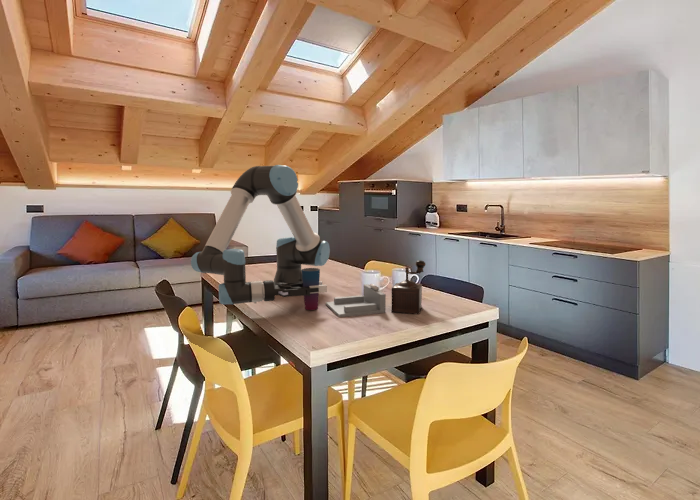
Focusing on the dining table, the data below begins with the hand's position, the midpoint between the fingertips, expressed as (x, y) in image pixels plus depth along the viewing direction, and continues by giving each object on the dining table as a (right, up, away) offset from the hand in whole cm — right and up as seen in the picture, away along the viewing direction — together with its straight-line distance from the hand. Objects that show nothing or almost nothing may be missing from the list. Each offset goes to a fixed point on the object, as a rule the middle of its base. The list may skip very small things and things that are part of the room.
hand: (324, 286), depth 160 cm
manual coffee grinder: (+32, -9, +1) cm, 34 cm away
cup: (-5, -8, -1) cm, 10 cm away
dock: (+12, -9, +1) cm, 14 cm away
